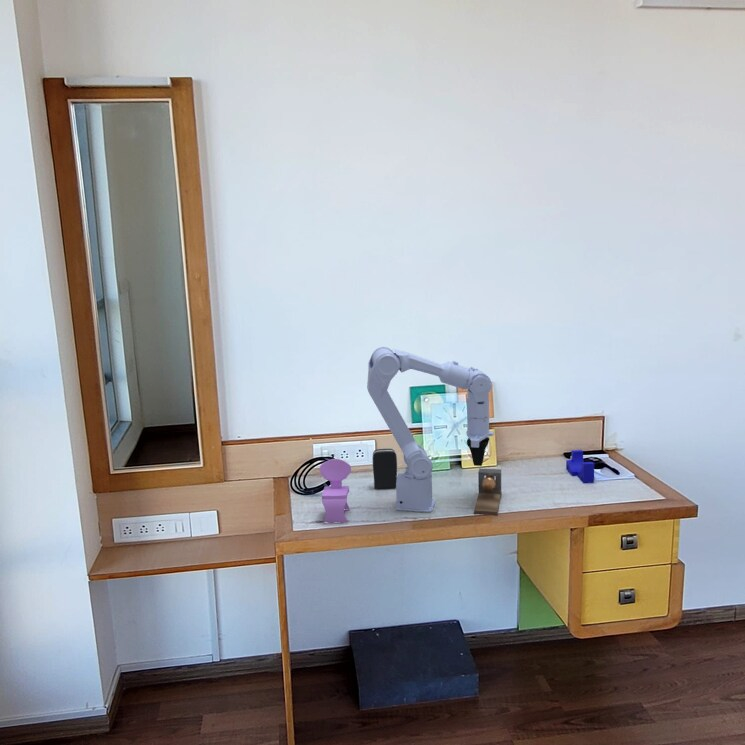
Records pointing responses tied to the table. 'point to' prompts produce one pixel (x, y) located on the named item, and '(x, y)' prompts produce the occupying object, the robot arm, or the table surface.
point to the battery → (384, 468)
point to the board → (487, 504)
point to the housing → (490, 472)
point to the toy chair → (335, 489)
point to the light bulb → (489, 483)
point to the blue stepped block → (580, 467)
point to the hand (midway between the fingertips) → (478, 464)
